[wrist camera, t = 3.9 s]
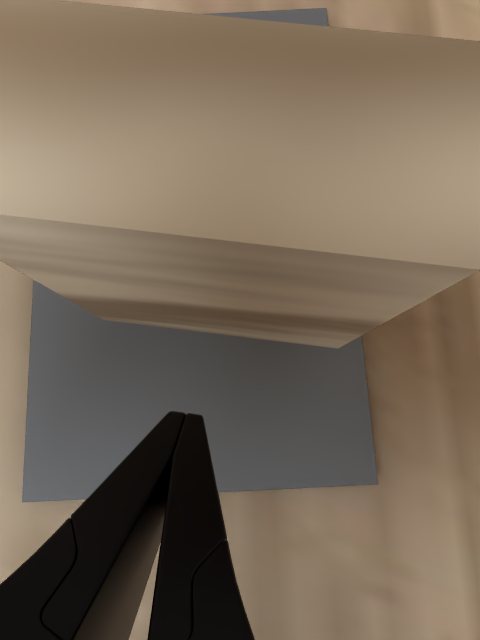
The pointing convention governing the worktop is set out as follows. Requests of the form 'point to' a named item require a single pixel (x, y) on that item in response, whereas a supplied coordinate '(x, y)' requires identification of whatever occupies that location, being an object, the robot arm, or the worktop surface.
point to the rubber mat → (191, 394)
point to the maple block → (236, 168)
